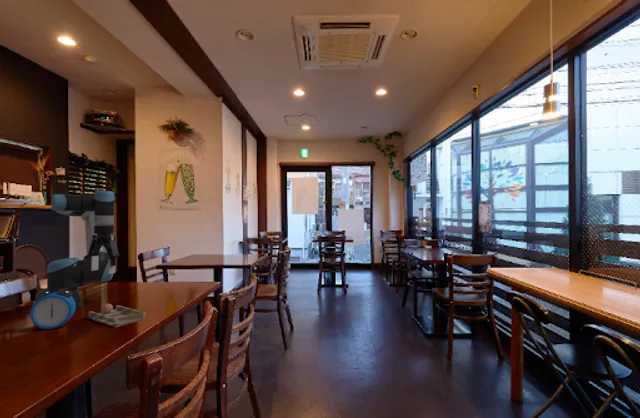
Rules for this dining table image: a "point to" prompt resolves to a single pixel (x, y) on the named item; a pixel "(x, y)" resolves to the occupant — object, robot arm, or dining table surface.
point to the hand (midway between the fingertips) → (102, 271)
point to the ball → (107, 308)
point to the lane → (118, 316)
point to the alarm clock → (52, 308)
